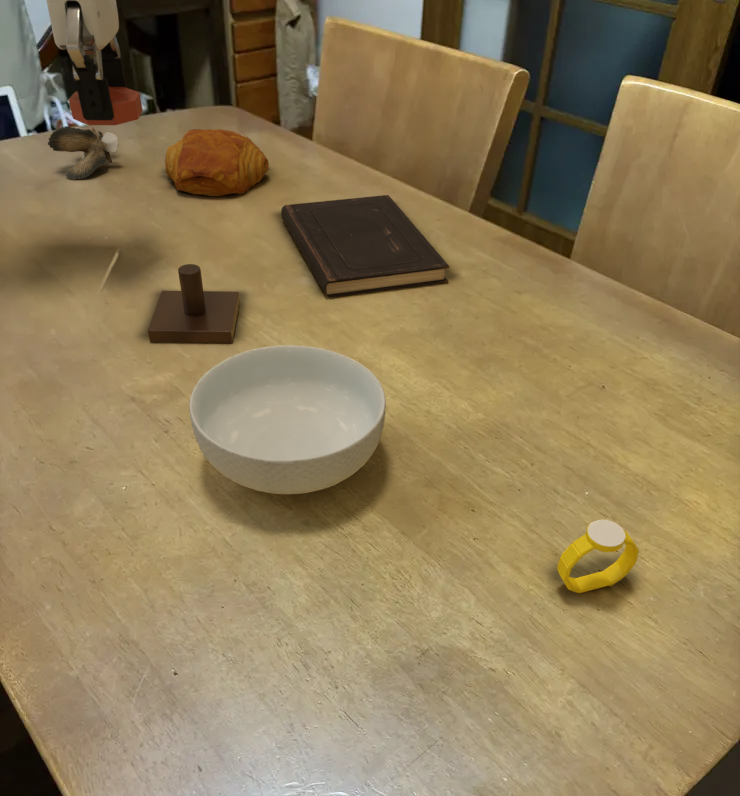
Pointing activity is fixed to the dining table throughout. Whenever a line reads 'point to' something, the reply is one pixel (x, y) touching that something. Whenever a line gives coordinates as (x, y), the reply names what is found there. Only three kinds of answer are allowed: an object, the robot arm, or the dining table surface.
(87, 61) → the robot arm
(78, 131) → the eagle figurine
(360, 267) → the hardcover book
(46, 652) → the dining table surface
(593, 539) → the watch
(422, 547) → the dining table surface
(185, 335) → the stand
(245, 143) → the croissant
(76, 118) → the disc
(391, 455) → the dining table surface
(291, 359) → the cereal bowl
